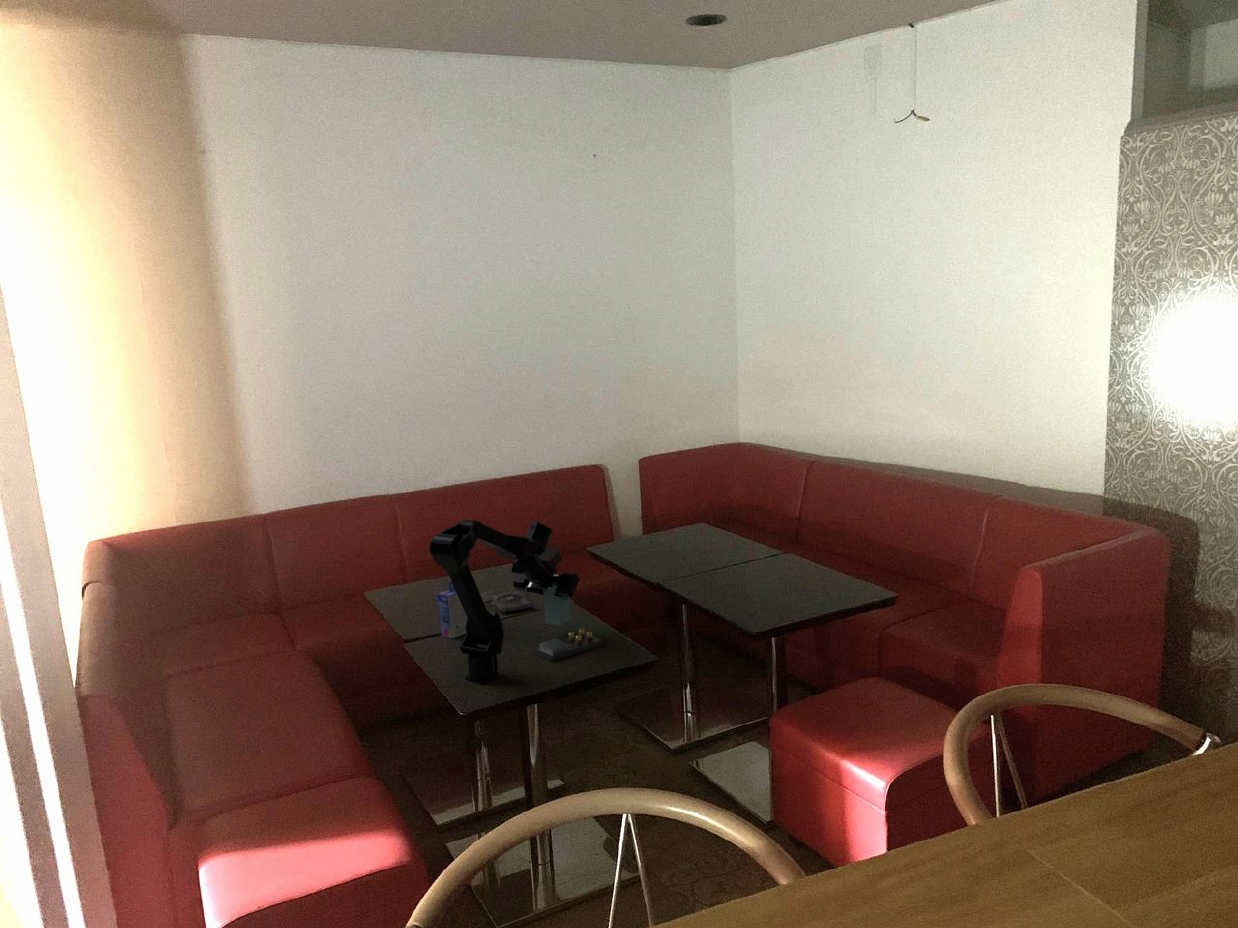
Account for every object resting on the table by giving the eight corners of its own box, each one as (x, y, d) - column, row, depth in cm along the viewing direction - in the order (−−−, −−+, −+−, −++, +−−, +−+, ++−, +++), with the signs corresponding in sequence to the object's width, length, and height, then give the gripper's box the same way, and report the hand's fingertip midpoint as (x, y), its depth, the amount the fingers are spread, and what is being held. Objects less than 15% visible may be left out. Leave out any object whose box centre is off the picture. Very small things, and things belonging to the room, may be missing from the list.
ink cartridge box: (468, 625, 269) (464, 576, 267) (480, 629, 265) (476, 579, 263) (439, 635, 262) (435, 584, 260) (452, 639, 258) (447, 588, 256)
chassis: (552, 661, 238) (551, 648, 237) (534, 653, 244) (533, 640, 244) (602, 644, 248) (601, 632, 247) (584, 637, 254) (583, 625, 253)
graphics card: (479, 592, 290) (517, 585, 294) (480, 603, 290) (518, 596, 295) (493, 608, 274) (533, 600, 279) (494, 620, 275) (534, 612, 279)
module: (560, 625, 253) (557, 580, 251) (545, 623, 256) (542, 578, 254) (571, 620, 257) (568, 576, 255) (555, 617, 260) (553, 574, 258)
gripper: (574, 544, 245) (599, 574, 256) (516, 538, 254) (542, 567, 265) (558, 581, 239) (584, 611, 250) (499, 573, 249) (527, 602, 260)
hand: (559, 596), depth 257 cm, fingers closed on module, 5 cm apart
